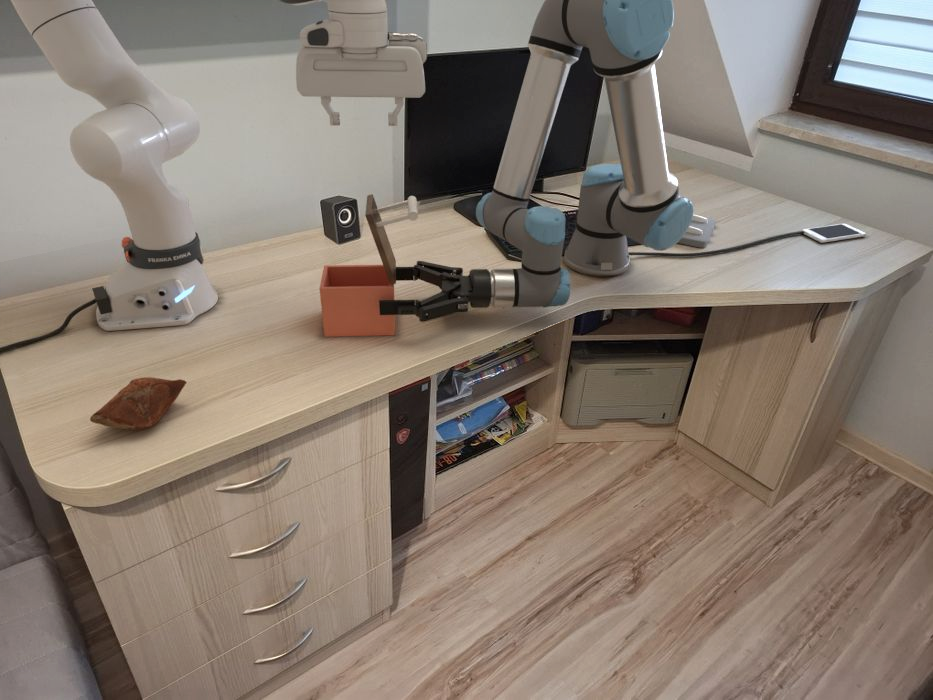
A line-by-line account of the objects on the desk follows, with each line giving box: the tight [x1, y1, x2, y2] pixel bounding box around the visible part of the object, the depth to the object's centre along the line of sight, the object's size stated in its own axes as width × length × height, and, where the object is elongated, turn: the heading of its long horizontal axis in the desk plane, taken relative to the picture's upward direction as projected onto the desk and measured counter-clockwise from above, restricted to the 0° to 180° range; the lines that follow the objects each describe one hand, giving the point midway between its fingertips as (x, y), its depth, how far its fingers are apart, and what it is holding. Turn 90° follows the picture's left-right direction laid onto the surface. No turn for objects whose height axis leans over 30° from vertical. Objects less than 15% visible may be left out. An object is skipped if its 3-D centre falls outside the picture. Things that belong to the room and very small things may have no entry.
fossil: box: [89, 376, 188, 431], centre depth 97 cm, size 13×8×10 cm
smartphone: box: [801, 223, 866, 244], centre depth 171 cm, size 7×16×1 cm, turn 111°
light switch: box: [676, 214, 716, 249], centre depth 169 cm, size 18×3×15 cm
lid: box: [365, 193, 419, 285], centre depth 116 cm, size 14×10×9 cm
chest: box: [319, 264, 396, 338], centre depth 123 cm, size 13×10×10 cm
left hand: (364, 124), depth 105 cm, fingers open, 8 cm apart
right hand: (380, 290), depth 122 cm, fingers open, 13 cm apart
